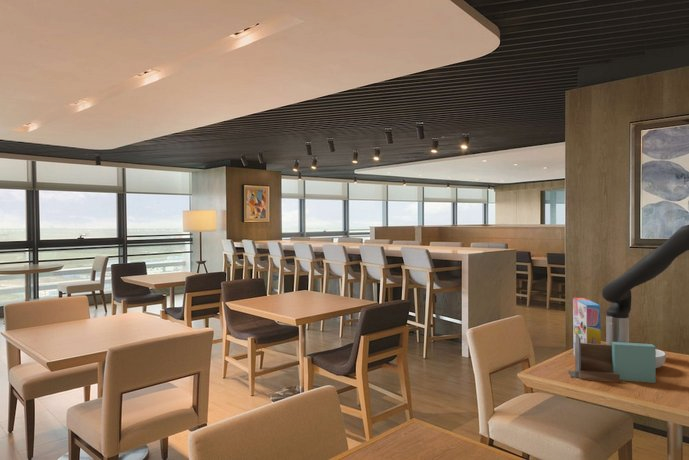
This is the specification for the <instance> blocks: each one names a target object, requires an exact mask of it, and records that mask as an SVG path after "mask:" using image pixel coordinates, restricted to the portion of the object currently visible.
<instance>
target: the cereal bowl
mask: <svg viewBox="0 0 689 460" xmlns="http://www.w3.org/2000/svg"><path fill="white" fill-rule="evenodd" d="M666 357H667V355H666V352H664V351H663V350H660V349H658V348H656V369H658V368H661V367H662V366H664V364H665V362H666V360H667V359H666Z"/></svg>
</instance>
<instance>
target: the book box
mask: <svg viewBox="0 0 689 460" xmlns="http://www.w3.org/2000/svg"><path fill="white" fill-rule="evenodd" d="M656 349H657V348H656V346H655V345H654V344H652V343H636V342H629V343H624V342H612V373H619V375H620V381H628V382H640V383H653V384H656V381H657V380H656V377H657V376H656V374H657V373H656V372H657V371H656V369H657V368H656Z"/></svg>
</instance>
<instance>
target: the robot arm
mask: <svg viewBox="0 0 689 460" xmlns="http://www.w3.org/2000/svg"><path fill="white" fill-rule="evenodd" d="M687 251H689V224H687V225H682V226H681V227H680V228H678V229H677V230H676V231H675V232H674V233H673V234H672V235H671V236H670V237H669V238H668V239H667V240H666V241H665V242H664V243H662V244H661V245H660V246H658V247H657V248H655V249H653V250H652V251H650V252H649V253H648V254H646V255H644V257H642V258H640V260H638V261H637V262H636V263H635V264H634V265H632V266H630V267H629V269H627V270H626V271H625V272H624V273H623V274H621V275H620V276H618V277H617V278H615V279H613V280H612V281H609V283H607V284H605V285H604V286H603V289H602V292H601V293H602V294H601V295H602V297H603V299H604V300H605V301H607V302H608V303H610V306H609V307H608V308H606V311H605V312H606V313H605V319H606V320H605V326H606V329H605V331H606V332H605V333H606V335H605V336H606V337H605V340H606V341H605V342H606V343H605V344H608V345H612V342H624V343H630V312H631V309H632V289H634V288H636V287H637V286H641V285H642V284H644V283H647V282H649V281H651V280H652V279H654V278H656V277H658V276H659V275H660V274H662V273H664V271H666V270H667V269H668V268H669V267H670V266H671V264H672V263H673V262H674V260H676V258H678V257H679V256H680V255H682V254H684V253H686V252H687Z"/></svg>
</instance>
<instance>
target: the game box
mask: <svg viewBox="0 0 689 460" xmlns="http://www.w3.org/2000/svg"><path fill="white" fill-rule="evenodd" d="M572 319H573V320H572V325H573V327H572V331H573V333H572V334H573V335H572V337H573V338H572V339H573V340H572V341H573V356H574V357H575V343H576V334H578V335H579V337H580V338H581V343H591V344H602V342H601V341H602V340H601V338H602V337H601V336H602V334H601V332H602V331H601V304H598V303H596V302H594V301H592V300H590V299H588V298H586V297H572Z"/></svg>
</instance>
